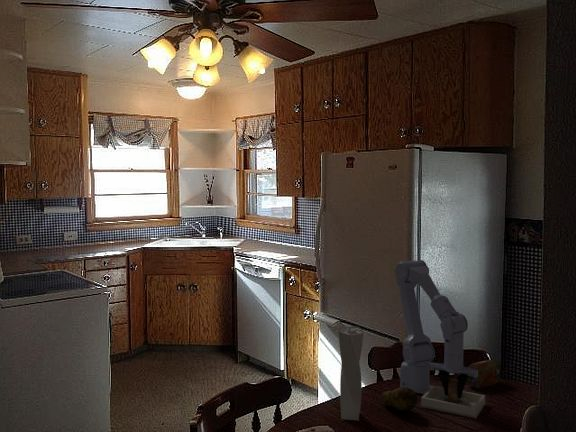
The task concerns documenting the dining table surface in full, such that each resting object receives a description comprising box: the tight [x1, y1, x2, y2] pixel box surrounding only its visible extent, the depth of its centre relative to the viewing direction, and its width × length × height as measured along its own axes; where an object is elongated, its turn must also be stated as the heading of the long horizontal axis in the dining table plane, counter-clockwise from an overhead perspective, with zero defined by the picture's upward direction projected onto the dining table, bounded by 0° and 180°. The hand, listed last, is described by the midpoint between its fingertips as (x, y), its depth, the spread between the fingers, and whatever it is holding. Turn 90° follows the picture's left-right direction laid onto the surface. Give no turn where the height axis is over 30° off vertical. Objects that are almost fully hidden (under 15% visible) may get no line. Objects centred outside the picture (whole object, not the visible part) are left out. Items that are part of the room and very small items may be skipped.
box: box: [420, 385, 486, 420], centre depth 168 cm, size 17×13×3 cm
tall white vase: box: [338, 325, 364, 422], centre depth 160 cm, size 8×8×28 cm
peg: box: [448, 378, 460, 404], centre depth 168 cm, size 4×4×7 cm
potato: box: [381, 387, 419, 411], centre depth 164 cm, size 8×13×8 cm, turn 13°
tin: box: [466, 359, 502, 389], centre depth 187 cm, size 15×3×8 cm, turn 118°
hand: (453, 395), depth 168 cm, fingers closed on peg, 3 cm apart
